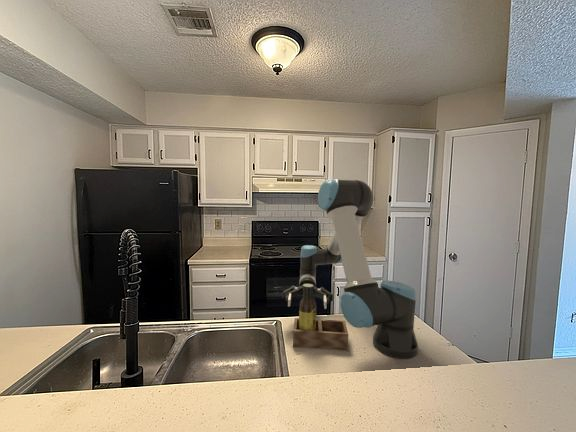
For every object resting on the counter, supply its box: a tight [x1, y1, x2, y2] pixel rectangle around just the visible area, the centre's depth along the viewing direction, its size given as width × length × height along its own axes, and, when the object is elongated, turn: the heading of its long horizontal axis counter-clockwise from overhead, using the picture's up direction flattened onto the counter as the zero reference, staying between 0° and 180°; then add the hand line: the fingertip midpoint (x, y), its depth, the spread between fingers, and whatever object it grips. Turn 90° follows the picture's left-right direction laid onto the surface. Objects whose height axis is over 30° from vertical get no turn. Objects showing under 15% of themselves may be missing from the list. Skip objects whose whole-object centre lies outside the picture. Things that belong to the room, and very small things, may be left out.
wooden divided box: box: [292, 317, 349, 352], centre depth 102 cm, size 19×10×6 cm, turn 85°
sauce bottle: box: [298, 284, 317, 331], centre depth 101 cm, size 6×6×20 cm
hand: (307, 304), depth 103 cm, fingers open, 13 cm apart
